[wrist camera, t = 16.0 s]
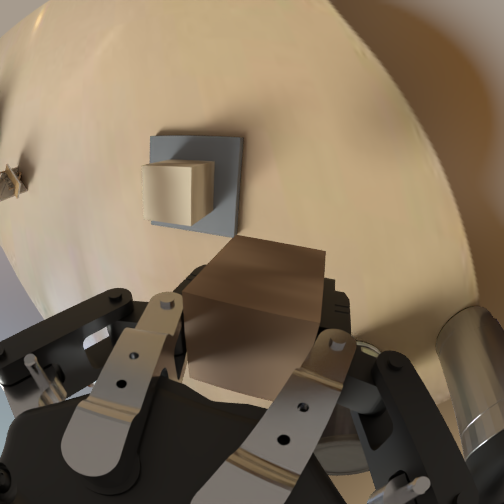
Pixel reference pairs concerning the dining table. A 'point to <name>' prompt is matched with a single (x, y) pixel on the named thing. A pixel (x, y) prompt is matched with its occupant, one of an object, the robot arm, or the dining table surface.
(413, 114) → the dining table surface
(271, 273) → the walnut block
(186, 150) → the pad
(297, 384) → the robot arm
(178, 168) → the maple block
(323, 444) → the coffee can
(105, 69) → the dining table surface
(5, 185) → the architectural model
